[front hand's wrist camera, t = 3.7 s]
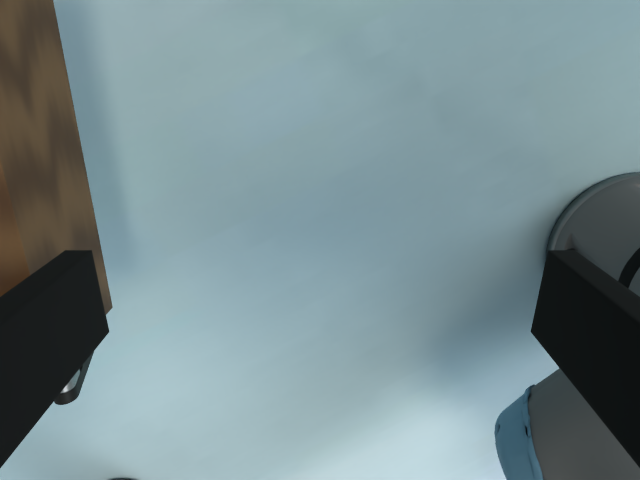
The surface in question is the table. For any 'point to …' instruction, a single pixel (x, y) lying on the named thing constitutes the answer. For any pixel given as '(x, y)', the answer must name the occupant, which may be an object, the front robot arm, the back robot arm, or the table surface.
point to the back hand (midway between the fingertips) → (51, 296)
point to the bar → (40, 150)
